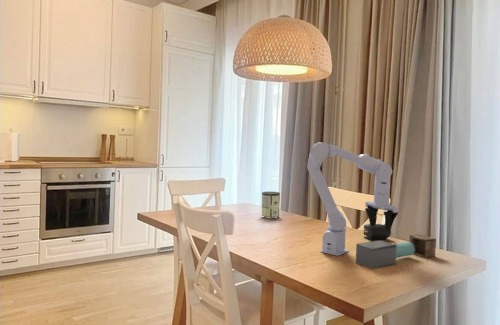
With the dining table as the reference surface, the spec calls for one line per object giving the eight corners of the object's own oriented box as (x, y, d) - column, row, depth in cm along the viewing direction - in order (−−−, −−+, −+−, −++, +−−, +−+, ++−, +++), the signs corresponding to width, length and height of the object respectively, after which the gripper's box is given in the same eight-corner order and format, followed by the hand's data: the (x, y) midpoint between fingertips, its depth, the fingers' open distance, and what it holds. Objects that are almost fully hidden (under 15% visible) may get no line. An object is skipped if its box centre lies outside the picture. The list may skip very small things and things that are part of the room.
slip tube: (371, 265, 134) (371, 250, 134) (360, 261, 138) (361, 247, 138) (415, 256, 146) (415, 243, 146) (404, 253, 150) (404, 240, 150)
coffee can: (266, 214, 229) (267, 190, 228) (282, 216, 223) (283, 192, 222) (258, 217, 220) (258, 192, 219) (273, 219, 214) (274, 194, 214)
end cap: (372, 241, 170) (372, 226, 170) (362, 237, 177) (363, 223, 177) (390, 240, 174) (391, 225, 173) (380, 236, 180) (381, 222, 180)
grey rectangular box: (372, 269, 133) (372, 249, 132) (355, 262, 139) (356, 243, 139) (395, 264, 139) (396, 245, 138) (378, 258, 145) (379, 240, 145)
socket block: (426, 258, 147) (427, 240, 147) (409, 252, 154) (409, 235, 154) (435, 256, 150) (436, 238, 149) (417, 251, 157) (417, 234, 156)
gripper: (404, 195, 146) (402, 230, 147) (374, 190, 158) (373, 223, 159) (391, 196, 142) (390, 232, 143) (362, 191, 155) (360, 224, 155)
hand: (380, 227), depth 151 cm, fingers open, 7 cm apart
